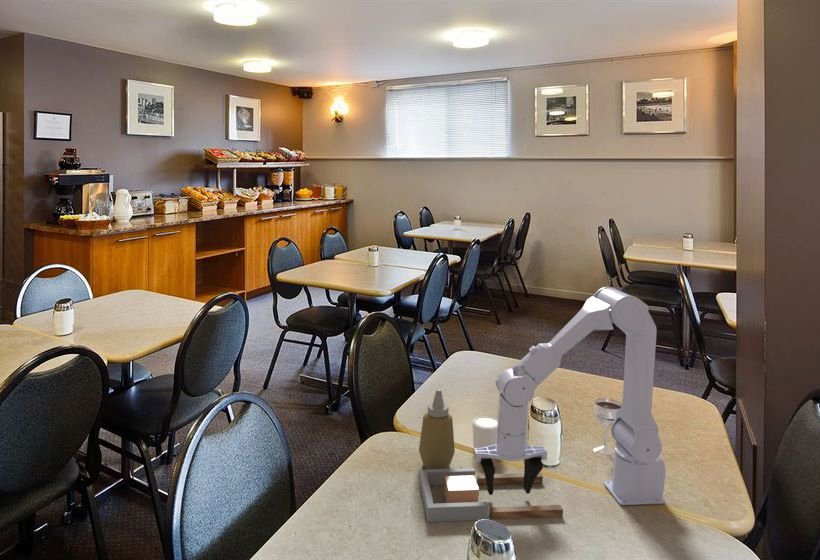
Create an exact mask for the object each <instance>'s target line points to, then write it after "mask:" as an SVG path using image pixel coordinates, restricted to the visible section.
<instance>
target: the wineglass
mask: <svg viewBox="0 0 820 560" xmlns="http://www.w3.org/2000/svg"><path fill="white" fill-rule="evenodd" d="M593 403H594V406H593V408H592V411H593V412H592V413H593V417H594V418H595V419H596V420H597V421H598V422H599V423H600V424H602V425H603V426H604V432H603V433H604V434H603V435H604V436H603V444H596V445H594V446H593V451H594V452H596V453H597V454H600V455H604V456H613V455H615V449H614V448H612V447H610V446H608V445H607V438H608V430H609V427H610V426H612V424H613V422H614V420H615V418H616V411H617V410H618V409H620V408H622V403H623V402H620V401H618V400H617V399H616V400H615V399H612V398H607V397H601V398H600V397H599V398H595V400H594V401H593Z"/></svg>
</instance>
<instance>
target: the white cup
mask: <svg viewBox="0 0 820 560" xmlns="http://www.w3.org/2000/svg"><path fill="white" fill-rule="evenodd" d="M471 421H472V438H473V440H472V441H473V450H474V449H475V448H483V447H487V446H492V445H496V444H497V426H498V418H495V417H493V416H485V415H484V416H483V415H481V416H476V417H474V418H473V420H471Z"/></svg>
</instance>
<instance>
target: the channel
mask: <svg viewBox="0 0 820 560" xmlns="http://www.w3.org/2000/svg"><path fill="white" fill-rule="evenodd" d="M476 476H477V477H476V483H477V486H480V485H481V486H485V485H486V486H487V483H486V478H485V474H481V473H480V474H477V475H476ZM543 479H544V476H543V474H542V472H539V474H538V475H537V477H536V478H535V480H534V482H533V484H543V481H544V480H543ZM523 482H524V472H521V473H520V472H517V473H516V472H515V473H494V480H493V485H513V484H515V485H516V484H519V485H520V484H523ZM489 515H490V519H491V520H502V519H503V520H504V519H505V520H506V519H531V518H532V519H533V518H556V517H557V518H558V517H563V515H564V509H563V507H562V506H561V504H548V505H547V504H545V505H543V504H542V505H541V504H540V505H517V506H493V507H492V506H491V507H489Z"/></svg>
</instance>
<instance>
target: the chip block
mask: <svg viewBox="0 0 820 560" xmlns="http://www.w3.org/2000/svg"><path fill="white" fill-rule="evenodd" d="M443 486H444V488H443V490H444V491H443V493H444V497H445V501H446V502H445V503H465V502H479V493H480V491H479V490H480V489H479V485H478V482H477V480H476V478H474V475H470V476H445V485H443Z"/></svg>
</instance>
